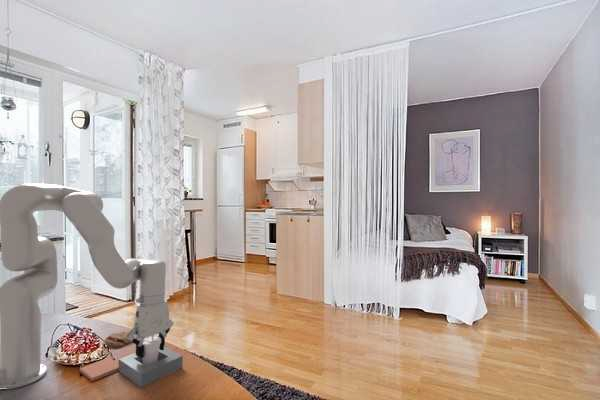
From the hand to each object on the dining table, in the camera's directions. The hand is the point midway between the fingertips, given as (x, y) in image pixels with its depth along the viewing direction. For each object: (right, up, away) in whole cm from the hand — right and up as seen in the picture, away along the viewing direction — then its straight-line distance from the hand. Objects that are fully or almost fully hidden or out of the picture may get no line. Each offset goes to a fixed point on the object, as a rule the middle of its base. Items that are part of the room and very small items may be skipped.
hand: (150, 352), depth 105 cm
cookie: (-21, -5, +19) cm, 29 cm away
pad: (-16, -5, -1) cm, 16 cm away
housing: (0, -6, 0) cm, 6 cm away
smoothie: (0, -6, 0) cm, 6 cm away
